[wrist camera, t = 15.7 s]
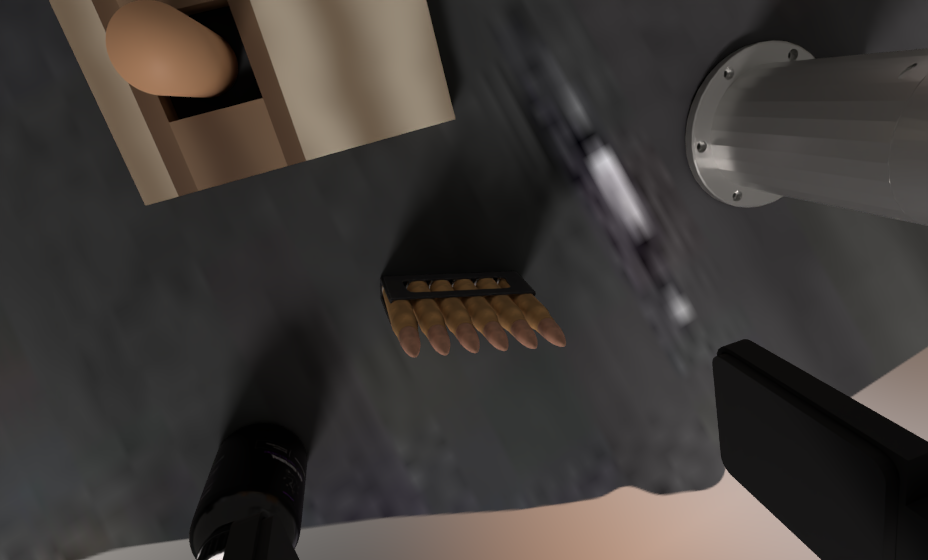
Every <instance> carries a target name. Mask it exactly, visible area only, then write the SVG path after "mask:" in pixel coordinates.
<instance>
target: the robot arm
mask: <svg viewBox="0 0 928 560" xmlns="http://www.w3.org/2000/svg"><path fill="white" fill-rule="evenodd" d="M685 142H686V154H687V159H688V163H689V167H690V169H691V171H692V173H693V176H694V178H695V180H696V181H697V182H698V184H699V185H700V186H701V188H702V189H703V190H704V191H705V192H706V193H708V194H709V195H710V196H711V197H712V198H714V199H716V200H719V201H721V202H723V203H726V204H729V205H733V206H738V207H757V206H762V205H766V204H769V203H772V202H774V201H776V200H778V199H780V198H782V197H783V196H786V197H791V198H796V199H801V200H806V201H810V202H815V203H820V204H825V205H830V206H835V207H840V208H844V209H849V210H854V211H859V212H864V213H869V214H874V215H878V216H883V217H888V218H893V219H898V220H903V221H908V222H912V223H917V224H922V225H928V48H925V49H914V50H904V51H893V52H882V53H871V54H860V55H850V56H839V57H828V58H817V59H815V57H814V56H813V55H812V54H811V53H810V52H808V51H807V50H805V49H804V48H802V47H801V46H799V45H796V44H793V43H790V42H787V41H775V40H773V41H765V42H758V43H754V44H751V45H747V46H744V47H742V48H740V49H738V50H736V51H735V52H733V53H731V54H730V55H728V56H727V57H726V58H725V59H723V60H722V61H721V62H719V63H718V64H717V65H716V67H715V68H714V69H713V70H712V71H711V72H710V73H709V74H708V75H707V77H706V79H705V80H704V82H703V83H702V85H701V86H700V88H699V89H698V91H697V94H696V96H695V98H694V100H693V103H692V105H691V108H690V112H689V116H688V119H687V126H686V135H685ZM712 365H713V376H714V386H715V397H716V408H717V418H718V429H719V440H720V450H721V458H722V461H723V464H724V466H725V468H726V469H727V470H728V472H729V473H730V474H731V475H732V476H733V477H734V478H735V479H736V480H737V481H738V482H739V483H740V484H741V485H742V486H744V488H746V489H747V490H748V491H749V492H750V493H751V494H752V495H753V496H754V497H755V498H756V499H757V500H758V501H759V502H760V503H762V504H763V505H764V506H765V507H766V508H767V509H768V510H769V511H770V512H771V513H772V514H773V515H774V516H775V517H776V518H778V519H779V520H780V521H781V522H782V523H783V524H784V525H785V526H786V527H787V528H788V529H789V530H790V531H791V532H793V533H794V534H795V535H796V536H797V537H798V538H799V539H800V540H801V541H802V542H803V543H804V544H805V545H806V546H807V547H808V548H810V549H811V550H812V551H813V552H814V553H815V554H816V555H817V556H818V557H819V558H820V559H821V560H928V442H927V441H926V440H924V439H922V438H920V437H919V436H917V435H915V434H913V433H912V432H910V431H908V430H906V429H905V428H903V427H901V426H899V425H898V424H896V423H894V422H892V421H890V420H889V419H887V418H885V417H884V416H882V415H880V414H878V413H877V412H875V411H873V410H871V409H870V408H868V407H866V406H864V405H863V404H860V403H859V402H857V401H855V400H854V399H852V398H850V397H849V396H847V395H845V394H843V393H842V392H840V391H838V390H836V389H835V388H833V387H831V386H829V385H828V384H826V383H824V382H822V381H820V380H819V379H817V378H815V377H813V376H812V375H810V374H808V373H806V372H805V371H803V370H801V369H799V368H798V367H796V366H794V365H792V364H791V363H789V362H787V361H785V360H784V359H782V358H780V357H778V356H777V355H775V354H773V353H771V352H770V351H768V350H766V349H764V348H763V347H761V346H759V345H757V344H756V343H754V342H752V341H750V340H747V339H743V340H740V341H737V342H734V343H732V344H729V345H726V346H723V347H721V348H720V349H718V352H717V356H716V357H714V358H713V362H712ZM223 560H299V558H298V556H297V554H296V552H295V550H294V547H293V545H292V543H291V541H290V539H289V537H288V535H287V533H286V531H285V529H284V527H283V524H282V522H281V520H280V519H279V517H278V516H277V515H274V516H271V517H269V516H268V514H267V513H266V512H264V511H262V512H259V513H256V514H253V515H251V516H248V517H245V518H242V519H239V520H237V521H234V522H233V523H232V525H231V527H230V531H229V535H228V539H227V544H226V548H225V552H224V556H223Z"/></svg>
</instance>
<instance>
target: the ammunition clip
mask: <svg viewBox="0 0 928 560" xmlns="http://www.w3.org/2000/svg"><path fill="white" fill-rule="evenodd" d="M380 292H381V301H382V304H383V306H384V309H385V312H386V314H387V317H388V319H389V322H390V324H391V325H392V329H393V331H394V333H395V334H396V335H397V337H398V339H399V341H400V344H401V346H402V348H403V349H404V351H405V352H406V353H407V354H408V355H409V356H411V357H417V356H418V354H419V351H420V338H419V334H418V323H419V326H420V328H421V330H422V331H423V333H424V334H425V335H426V336H427V338H428V339H429V341H430V343H431V345H432V346H433V348H434V349H435V350H436V351H437V352H439V353H440V354H442V355H447V354H448V353H449V350H450V340H449V335H448V333H447V330H446V327H445V323H446V325H447V327H448V328H449V330H450V331H451V332H452V333H454V334H455V336H456V337H457V339H458V340H459V342H460V343H461V344H462V345H463V347H464V348H466V349H467V350H468V351H470V352H472V353H477V352H478V351H479V338H478V335H477V333H476V331H475V329H474V326H475V328H476V329H477V330H479V331H480V332H481V333H482V334H483V335H484V336H485V337H486V338H487V340H488V341H489V342H490V343H491V344H492V345H493V346H494V347H496V348H497V349H499V350H502V351H506V350H507V349H508V339H507V335H506V333H505V331H504V329H503V328H505V329H506V330H507V331H509V332H510V333H511V334H512V335H513V336H514V337H515V338H516V339H517V340H518V341H519V342H520V343H522V344H523V345H524V346H526V347H528V348H532V349H535V348H537V338H536V335H535V333H534V331H533V330H532V328H533V329H535V330H536V331H537V332H538V333H540V334H541V335H542V336H543V337H544V338H545V339H547V340H548V341H549V342H551V343H552V344H554V345H557V346H560V347H564V346H565V345H566V339H565V336H564V334H563V332H562V330H561V329H560V327H559V326H558V324H557V323H556V322H555V321H554V320H553V318H552V317H551V316H550V314H549V312H548V310H547V309H546V308H545V307H544V306H543V305H542V304H541V303H540V302H539V301H538V300H537V299H536V298H535V297H534V296H535V291H534V290H533V289H532V288H531V287H530V286H529V285H528V283H527V282H526V281H525V280H524V279H523V278H522V277H521V276H520V275H519V274H518V273H517V272H516V271H504V272H479V273H454V274H429V275H404V276H383V277H381V278H380ZM532 294H533V295H534V296H533V295H532ZM472 323H473V324H472ZM473 325H474V326H473ZM502 327H503V328H502Z"/></svg>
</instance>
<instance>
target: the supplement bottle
mask: <svg viewBox="0 0 928 560" xmlns="http://www.w3.org/2000/svg"><path fill="white" fill-rule="evenodd" d="M306 470H307V455H306V450H305V448H304V446H303V444H302V442H301V440H300V439H299V438H298V437H297V436H296V435H295V434H294V433H293V432H291V431H290V430H288V429H286V428H284V427H282V426H278V425H275V424H267V423H260V424H253V425H249V426H246V427H243V428H241V429H239V430H237V431H235V432H234V433H232V434H231V435H230V436H229V437H228V438H227V439H226V440H225V441H224V442H223V443H222V445H221V446H220V448H219V450H218V452H217V455H216V457H215V460H214V462H213V465H212V468H211V470H210V473H209V476H208V479H207V481H206V484H205V487H204V490H203V492H202V495H201V498H200V501H199V503H198V506H197V509H196V512H195V514H194V517H193V520H192V524H191V527H190V532H189V542H190V547H191V550H192V553H193V555H194V557H195V559H196V560H223V556H224V552H225V548H226V544H227V539H228V535H229V531H230V527H231V525H232V523H233V522H234V521H237V520H239V519H242V518H245V517H248V516H251V515H253V514H256V513H259V512H262V511H264V512H266V513H267V514H268V516H269V517H271V516H274V515H277V516H278V517H279V519H280V520H281V522H282V524H283V527H284V529H285V531H286V533H287V535H288V537H289V539H290V541H291V543H292V545H293V547H294V549H295V547H296V545H297V543H298V540H299V536H300V530H301V522H302V511H303V501H304V491H305V481H306Z"/></svg>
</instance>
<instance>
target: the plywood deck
mask: <svg viewBox="0 0 928 560" xmlns="http://www.w3.org/2000/svg"><path fill="white" fill-rule="evenodd" d="M49 1H50V3H51V6H52V8H53V10H54V12H55V14H56V16H57V18H58V20H59V23H60V25H61V27H62V29H63V31H64V33H65V35H66V37H67V40H68V42H69V44H70V46H71V48H72V50H73V52H74V54H75V57H76V59H77V61H78V63H79V65H80V67H81V69H82V71H83V74H84V76H85V78H86V80H87V82H88V84H89V86H90V88H91V91H92V93H93V95H94V97H95V99H96V101H97V103H98V105H99V108H100V110H101V112H102V114H103V116H104V118H105V120H106V122H107V125H108V127H109V129H110V131H111V133H112V135H113V137H114V140H115V142H116V144H117V146H118V148H119V150H120V152H121V154H122V157H123V159H124V161H125V163H126V165H127V167H128V169H129V171H130V174H131V176H132V178H133V180H134V182H135V184H136V186H137V188H138V191H139V193H140V195H141V197H142V199H143V201H144V203H145V205H149V204H153V203H157V202H160V201H164V200H167V199H171V198H175V197H178V196H182V195H185V194H189V193H192V192H196V191H200V190H203V189H207V188H210V187H214V186H217V185H221V184H225V183H228V182H232V181H235V180H239V179H243V178H246V177H250V176H253V175H257V174H260V173H264V172H268V171H271V170H275V169H278V168H282V167H286V166H289V165H293V164H296V163H300V162H303V161H307V160H311V159H314V158H318V157H321V156H325V155H329V154H332V153H336V152H339V151H343V150H346V149H350V148H354V147H357V146H361V145H364V144H368V143H371V142H375V141H379V140H382V139H386V138H389V137H393V136H397V135H400V134H404V133H407V132H411V131H414V130H418V129H422V128H425V127H429V126H432V125H436V124H440V123H443V122H447V121H450V120H454V119H455V116H454V112H453V108H452V104H451V100H450V95H449V91H448V87H447V83H446V79H445V75H444V71H443V67H442V63H441V59H440V55H439V51H438V47H437V42H436V38H435V34H434V30H433V26H432V22H431V18H430V14H429V10H428V6H427V2H426V0H155V1H159V2H162V3H165V4H168V5H170V6H172V7H174V8H175V9H177V10H179V11H180V12H182V13H184V14H185V15H187V16H188V15H193V14H197V13H201V12H205V11H209V10H214V9H218V8H222V7H226V6H230V9H231V12H232V15H233V17H234V20H235V23H236V26H237V28H238V31H239V34H240V37H241V39H242V42H243V45H244V48H245V50H246V53H247V56H248V59H249V61H250V64H251V67H252V70H253V72H254V75H255V78H256V81H257V83H258V86H259V89H260V92H261V94H262V97H263V98H261V99H257V100H253V101H249V102H246V103H242V104H238V105H234V106H230V107H227V108H223V109H219V110H215V111H211V112H207V113H204V114H200V115H196V116H192V117H188V118H184V119H181V120H179V118H178V115H177V113H176V111H175V108H174V106H173V103H172V101H171V99H170V96H161V95H153V94H149V93H146V92H143V91H141V90H139V89H137V88H135V87H133V86H132V85H130V84H129V83H128V82H127V81H125V80H124V79H123V78H122V77H121V76H120V74H119V73H118V72H117V71H116V69H115V68H114V66H113V65H112V63H111V61H110V58H109V56H108V53H107V49H106V41H105V40H106V30H107V26H108V23H109V21H110V19H111V18H112V16H113V15H114V14H115V12H116V11H117V10H118V9H120V8H121V7H122V6H124V5H126V4H128V3H130V2H133V1H138V0H49Z"/></svg>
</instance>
